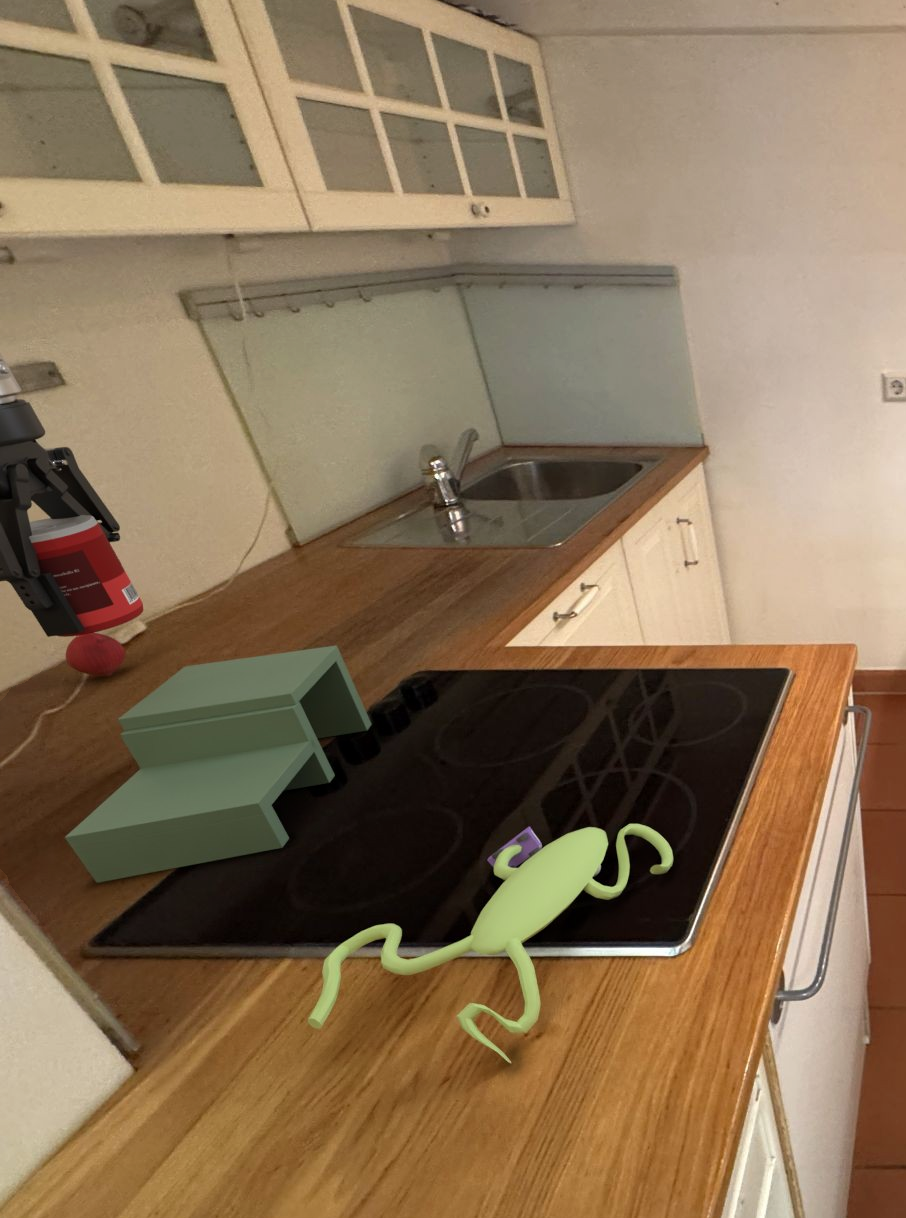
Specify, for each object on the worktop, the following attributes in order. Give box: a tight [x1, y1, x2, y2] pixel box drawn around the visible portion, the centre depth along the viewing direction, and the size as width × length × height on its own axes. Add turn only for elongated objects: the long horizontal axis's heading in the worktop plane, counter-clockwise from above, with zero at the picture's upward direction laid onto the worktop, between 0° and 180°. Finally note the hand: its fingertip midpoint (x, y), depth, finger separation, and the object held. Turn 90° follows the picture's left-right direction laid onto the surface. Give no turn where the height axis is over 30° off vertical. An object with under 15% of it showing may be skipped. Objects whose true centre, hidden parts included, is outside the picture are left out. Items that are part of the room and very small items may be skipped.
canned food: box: [19, 515, 144, 638], centre depth 81 cm, size 8×8×11 cm
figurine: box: [307, 823, 674, 1064], centre depth 68 cm, size 18×27×6 cm
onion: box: [65, 632, 126, 678], centre depth 114 cm, size 6×6×8 cm
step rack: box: [64, 645, 372, 884], centre depth 87 cm, size 16×24×12 cm, turn 16°
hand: (95, 615), depth 83 cm, fingers closed on canned food, 8 cm apart
